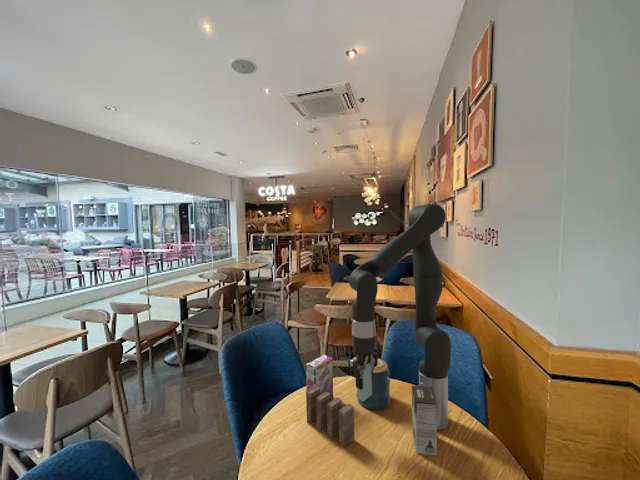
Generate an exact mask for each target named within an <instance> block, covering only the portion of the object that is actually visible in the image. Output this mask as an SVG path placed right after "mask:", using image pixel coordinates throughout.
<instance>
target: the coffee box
mask: <svg viewBox="0 0 640 480" xmlns="http://www.w3.org/2000/svg"><path fill="white" fill-rule="evenodd" d="M411 415H412V416H411V418H412V419H411V422H412V423H411V425H412V426H411V427H412V428H411V429H412V437H413V444H414V449H415V453H416V454H419V455H429V456H437V457H438V430H437V402H436V399H435V395H434V392H433V389H432V387H429V386H419V385H414V384H413V385H411Z"/></svg>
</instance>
